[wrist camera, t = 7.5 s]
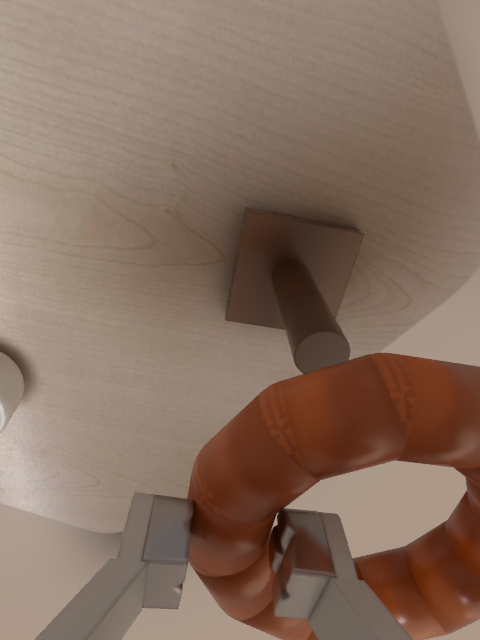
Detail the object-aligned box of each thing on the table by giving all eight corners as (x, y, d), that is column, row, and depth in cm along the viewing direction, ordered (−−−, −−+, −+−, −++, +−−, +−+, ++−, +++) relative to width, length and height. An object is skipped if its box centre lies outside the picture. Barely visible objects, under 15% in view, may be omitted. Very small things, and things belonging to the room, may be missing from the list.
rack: (358, 228, 30) (436, 291, 18) (325, 328, 34) (373, 429, 23) (245, 207, 29) (256, 260, 18) (225, 312, 33) (223, 409, 22)
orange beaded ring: (606, 369, 10) (710, 435, 8) (442, 592, 15) (480, 671, 12) (218, 308, 9) (215, 365, 7) (172, 569, 13) (161, 652, 11)
